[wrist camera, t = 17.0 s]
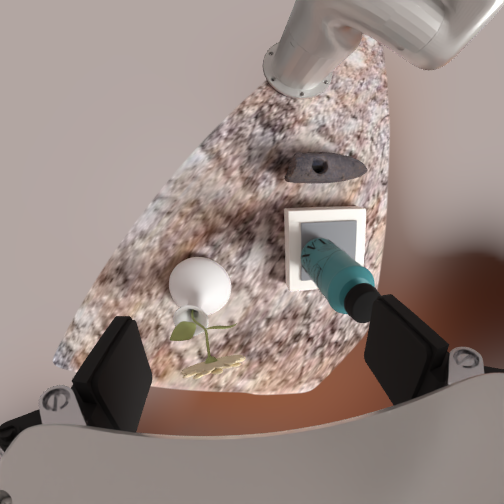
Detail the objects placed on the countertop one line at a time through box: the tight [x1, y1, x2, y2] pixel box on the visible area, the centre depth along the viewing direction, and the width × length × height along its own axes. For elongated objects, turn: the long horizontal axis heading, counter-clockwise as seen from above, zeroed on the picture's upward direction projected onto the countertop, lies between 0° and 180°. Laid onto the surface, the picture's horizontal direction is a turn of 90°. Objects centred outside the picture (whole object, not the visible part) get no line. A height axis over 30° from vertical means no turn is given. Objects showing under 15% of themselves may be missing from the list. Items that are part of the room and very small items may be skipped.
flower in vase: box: [169, 257, 246, 379], centre depth 38 cm, size 13×11×25 cm
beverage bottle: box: [300, 237, 381, 323], centre depth 35 cm, size 6×7×20 cm
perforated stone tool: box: [284, 152, 367, 183], centre depth 42 cm, size 15×5×7 cm, turn 92°
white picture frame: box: [284, 206, 366, 292], centre depth 47 cm, size 14×14×4 cm
